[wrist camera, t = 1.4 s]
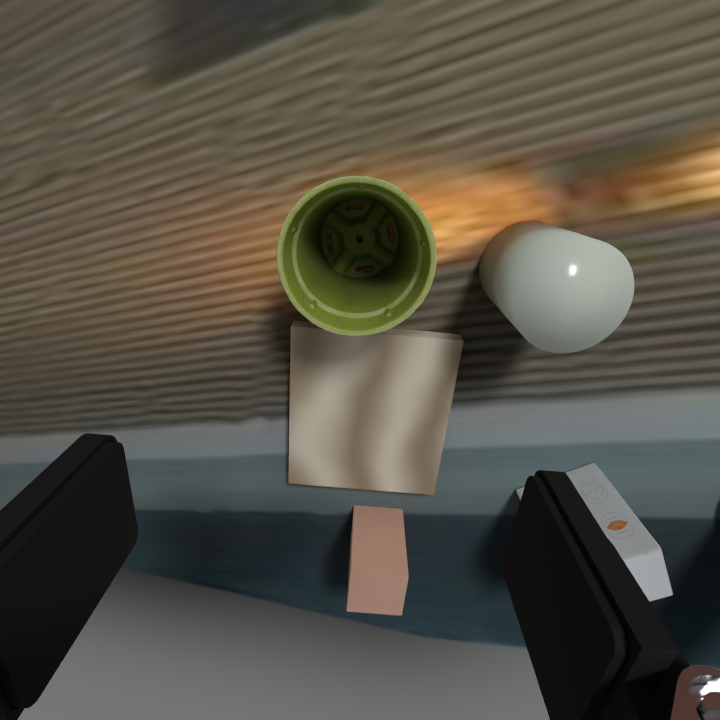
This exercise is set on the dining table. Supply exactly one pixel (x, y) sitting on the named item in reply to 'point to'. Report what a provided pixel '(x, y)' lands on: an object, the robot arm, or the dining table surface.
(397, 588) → the block
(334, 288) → the plant pot
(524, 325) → the pale rounded smooth block
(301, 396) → the board
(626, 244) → the dining table surface
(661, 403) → the dining table surface
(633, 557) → the small box
